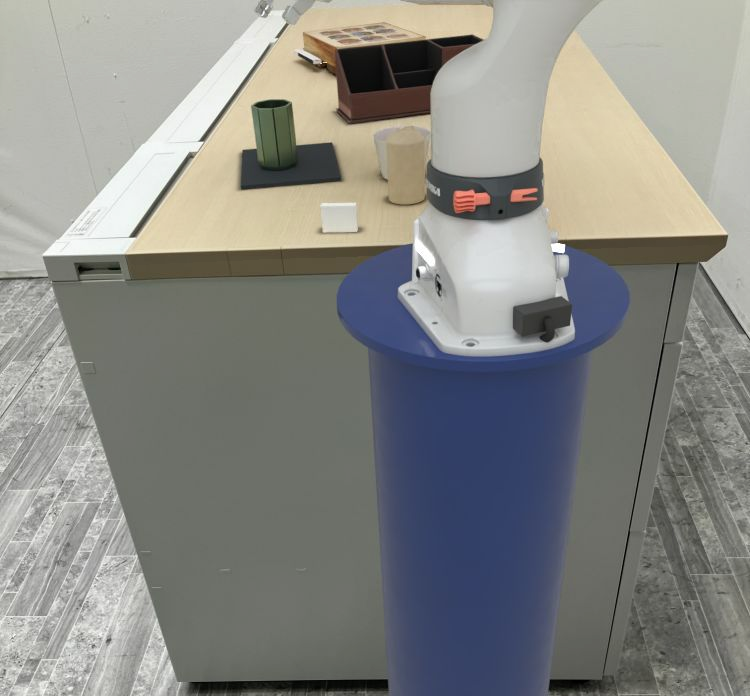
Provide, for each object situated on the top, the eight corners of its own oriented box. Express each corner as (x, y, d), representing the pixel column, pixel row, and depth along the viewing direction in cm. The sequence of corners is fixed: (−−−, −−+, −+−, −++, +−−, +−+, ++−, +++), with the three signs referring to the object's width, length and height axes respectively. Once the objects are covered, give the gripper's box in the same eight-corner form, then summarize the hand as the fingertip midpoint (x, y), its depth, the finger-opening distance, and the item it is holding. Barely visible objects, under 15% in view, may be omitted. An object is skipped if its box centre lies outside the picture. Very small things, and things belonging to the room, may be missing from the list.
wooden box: (292, 61, 208) (327, 81, 187) (289, 32, 204) (324, 49, 183) (382, 49, 214) (426, 67, 194) (381, 21, 210) (425, 36, 190)
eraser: (323, 229, 116) (321, 203, 113) (358, 228, 115) (356, 202, 113) (322, 232, 115) (320, 206, 112) (357, 232, 114) (355, 205, 112)
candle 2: (373, 168, 136) (371, 128, 132) (428, 165, 136) (427, 124, 132) (376, 186, 129) (374, 144, 125) (434, 182, 129) (433, 140, 125)
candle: (406, 190, 127) (404, 120, 120) (432, 197, 123) (432, 126, 117) (380, 199, 124) (377, 129, 118) (407, 207, 121) (405, 135, 114)
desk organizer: (491, 106, 163) (494, 42, 156) (348, 124, 158) (344, 58, 151) (472, 94, 171) (473, 33, 164) (335, 111, 166) (331, 48, 159)
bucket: (254, 164, 139) (286, 157, 141) (270, 173, 135) (303, 165, 137) (245, 103, 133) (280, 97, 135) (262, 111, 129) (297, 104, 131)
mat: (341, 180, 132) (341, 177, 131) (241, 189, 131) (240, 185, 130) (332, 145, 147) (332, 142, 147) (242, 153, 146) (242, 149, 146)
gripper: (377, -48, 114) (321, 42, 116) (308, -55, 128) (259, 25, 130) (347, -85, 109) (289, 9, 111) (279, -88, 123) (229, -4, 125)
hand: (272, 18), depth 121 cm, fingers open, 8 cm apart
